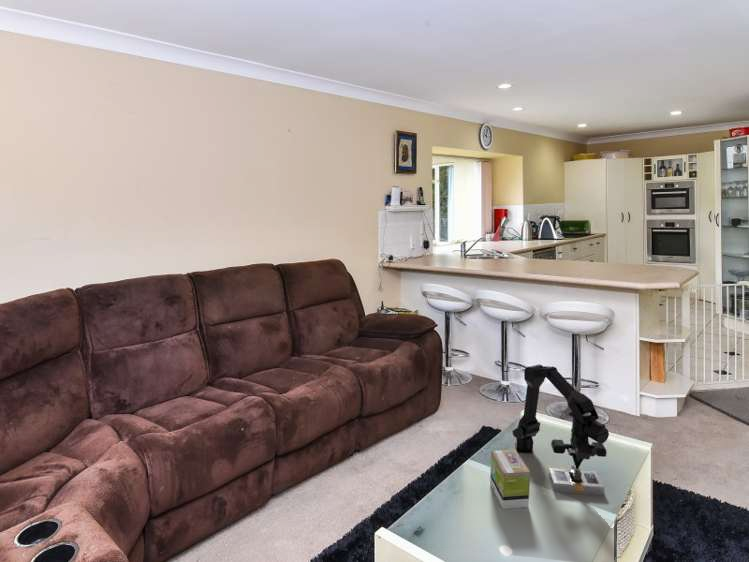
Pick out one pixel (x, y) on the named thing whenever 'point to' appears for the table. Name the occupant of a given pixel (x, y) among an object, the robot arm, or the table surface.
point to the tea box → (510, 479)
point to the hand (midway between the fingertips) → (576, 468)
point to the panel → (575, 474)
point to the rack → (588, 484)
